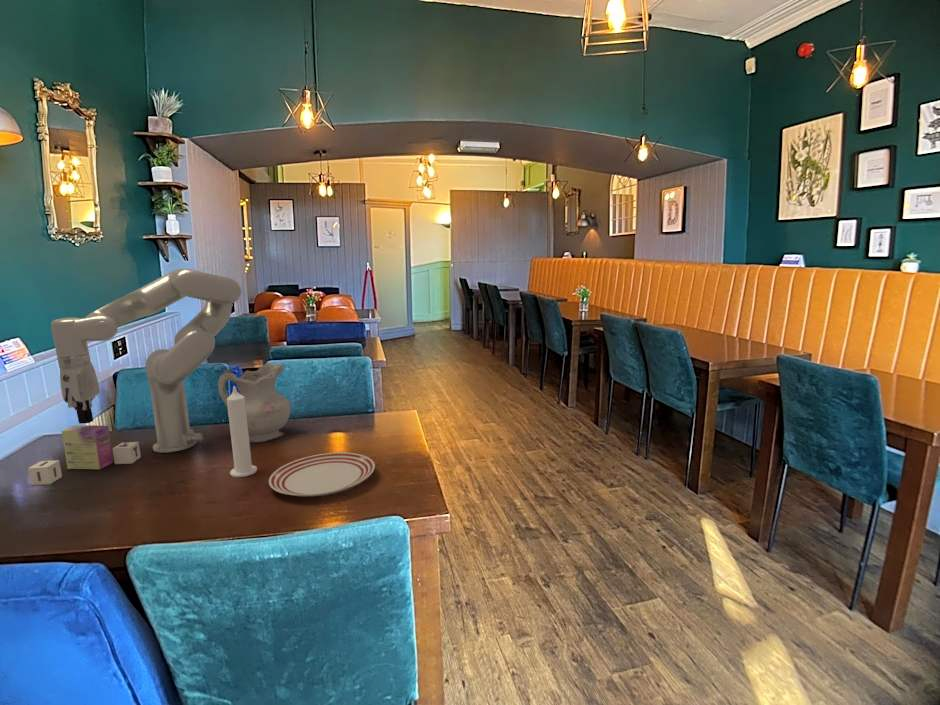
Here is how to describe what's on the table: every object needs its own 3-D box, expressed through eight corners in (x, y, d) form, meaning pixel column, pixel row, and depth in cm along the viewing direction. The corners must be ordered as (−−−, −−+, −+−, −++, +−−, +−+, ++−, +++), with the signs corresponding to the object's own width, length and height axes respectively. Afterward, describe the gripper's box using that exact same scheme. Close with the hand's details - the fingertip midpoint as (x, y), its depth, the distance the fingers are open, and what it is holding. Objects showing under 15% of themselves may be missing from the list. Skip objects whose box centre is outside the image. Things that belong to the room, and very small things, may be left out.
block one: (62, 477, 157) (59, 459, 156) (50, 484, 152) (47, 466, 151) (43, 477, 156) (40, 460, 156) (30, 485, 151) (27, 467, 150)
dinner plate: (278, 515, 130) (277, 502, 130) (262, 475, 154) (261, 463, 154) (389, 489, 143) (389, 477, 142) (359, 455, 167) (358, 445, 166)
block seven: (141, 457, 170) (139, 441, 169) (132, 463, 165) (130, 447, 164) (124, 458, 170) (121, 442, 169) (114, 464, 165) (112, 447, 164)
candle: (262, 468, 158) (253, 383, 154) (245, 478, 152) (235, 390, 147) (242, 466, 161) (233, 382, 156) (224, 475, 154) (214, 388, 149)
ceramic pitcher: (248, 455, 172) (244, 378, 166) (210, 441, 182) (205, 367, 176) (303, 435, 190) (301, 364, 184) (265, 423, 200) (262, 355, 194)
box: (114, 462, 167) (108, 424, 164) (100, 470, 161) (93, 431, 159) (82, 462, 168) (76, 424, 165) (67, 469, 162) (60, 430, 160)
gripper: (71, 366, 151) (83, 430, 155) (103, 355, 166) (113, 413, 170) (42, 367, 151) (55, 431, 155) (77, 356, 166) (88, 415, 169)
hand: (86, 422), depth 162 cm, fingers closed
